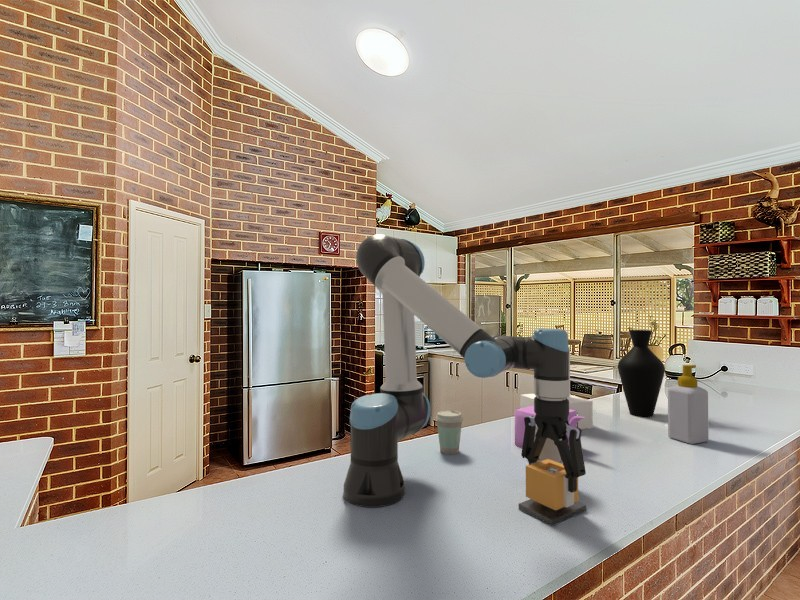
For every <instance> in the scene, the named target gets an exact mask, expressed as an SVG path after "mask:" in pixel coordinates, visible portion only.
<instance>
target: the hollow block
mask: <svg viewBox="0 0 800 600" xmlns="http://www.w3.org/2000/svg"><path fill="white" fill-rule="evenodd" d="M547 467H554V468H557V469H558V472H556V473H552V472H549V471H546V468H547ZM565 475H567V474H566V472H565V469H564V466H563V463H562V462H561V463H558V462H555V461H553V460H550V459H546V460H543V461H540V462H537V463H534V464H531V465H529V464H527V465H525V497H526V498H528V499H529V500H530V499H532V500H534V501H536V502H538V503H540V504H543V505H545V506H547V507H549V508H551V509H553V510H558V509H561V508H563V507H564V501H563V476H565ZM577 501H578V502H579V477H577V490H576V491H575V492H574V503H575V502H577Z"/></svg>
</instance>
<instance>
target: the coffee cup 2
mask: <svg viewBox="0 0 800 600" xmlns="http://www.w3.org/2000/svg"><path fill="white" fill-rule="evenodd" d="M537 430H538V427H537V425H536V430H535V435H536V432H537ZM535 438H536V437H534V441H535ZM559 440H562V439H559ZM539 459H540V460H537V462H538V461H539V462H540V461H543V460H546V459H550V460H553V461H555V462H558V463H561V464H562V460H561V457H560V454H559V451H558V448H557V446H556V445H555V444H554V441H553V440H551V439H550V438H547V439H546V441H545V444H544V446H543V449H542V451H541V454H540V456H539Z"/></svg>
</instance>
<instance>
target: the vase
mask: <svg viewBox="0 0 800 600" xmlns="http://www.w3.org/2000/svg"><path fill="white" fill-rule="evenodd" d="M628 331H629V335H630V339H631V342H632V348H630V349H629V350H628V352H627V353H626V354H625V355H623V356H622V357H621V358H620V359H619V361H618V363H617V370H618V374H619V378H620V383H621V386H622V390H623V394H624V398H625V402H626V405H627V408H628V411H629V412H628V413H629V414H630V415H631V416H633V417H637V418H653V417H654V413H655V411H656V406H657V403H658V400H659V394H660V392H661V387H662V383H663V380H664V376H665V372H666V368H665V364H664V363H663V361H662V360H661V359H660V358H659V357H658V356H657V355H656V354H655V353H654V352H653V351H652V350H651V349H650V348H649V343H650V340H651V337H652V333H653V330H650V329H629V330H628Z"/></svg>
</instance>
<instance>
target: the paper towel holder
mask: <svg viewBox="0 0 800 600" xmlns="http://www.w3.org/2000/svg"><path fill="white" fill-rule="evenodd" d="M568 346H569V345H568ZM535 397H536V395H535V394H534V393H524V394H520V397H519V398H520V405H519V406H520V408H525V407H530V406H534V398H535ZM567 399H568V400H569V409H571V410H576V411H577V416H581V417H585V418H584V419H581V420H579V421H578V422H577V428H580V429H581V430H586V429H585V428H588V429H593V427H594V425H593V424H594V421H593V420H594V419H593V418H594V417H593V416H594V414H593V413H594V411H593V410H594V409H593V404H594V403H593V400H590V399H588V398H587V399H586V398H583V397H580V396H578V395H577V396H576V395H573V394H571V346H569V396H568V397H567ZM520 408H519V409H520Z"/></svg>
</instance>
